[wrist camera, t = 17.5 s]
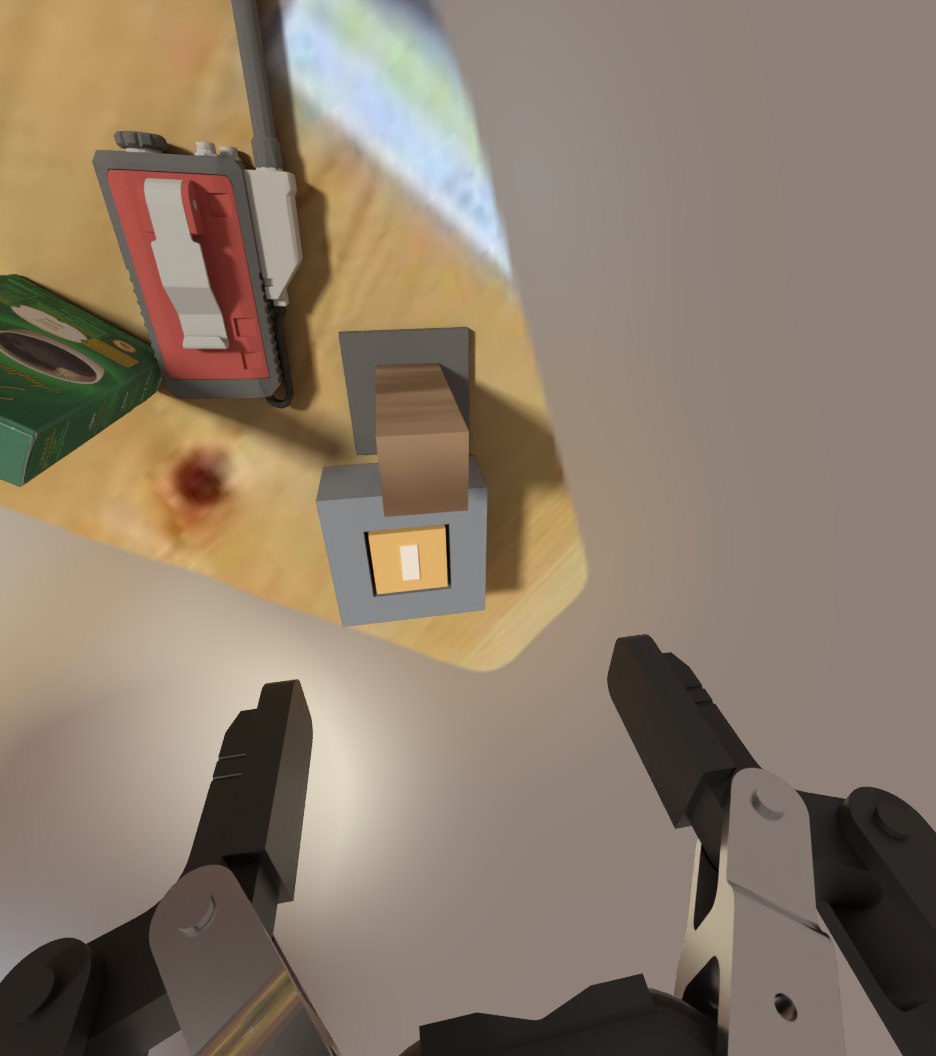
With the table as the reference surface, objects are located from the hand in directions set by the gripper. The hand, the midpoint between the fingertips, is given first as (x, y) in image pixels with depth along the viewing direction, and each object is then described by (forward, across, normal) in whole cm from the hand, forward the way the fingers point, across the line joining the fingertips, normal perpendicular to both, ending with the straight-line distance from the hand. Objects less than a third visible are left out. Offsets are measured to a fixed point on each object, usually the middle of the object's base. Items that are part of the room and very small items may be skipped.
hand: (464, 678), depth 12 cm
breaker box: (+24, +1, +11) cm, 26 cm away
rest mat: (+24, 0, 0) cm, 24 cm away
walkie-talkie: (+25, +10, -10) cm, 28 cm away
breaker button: (+23, +1, +11) cm, 25 cm away
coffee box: (+24, +18, -4) cm, 30 cm away
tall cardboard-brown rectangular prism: (+23, 0, 0) cm, 23 cm away
